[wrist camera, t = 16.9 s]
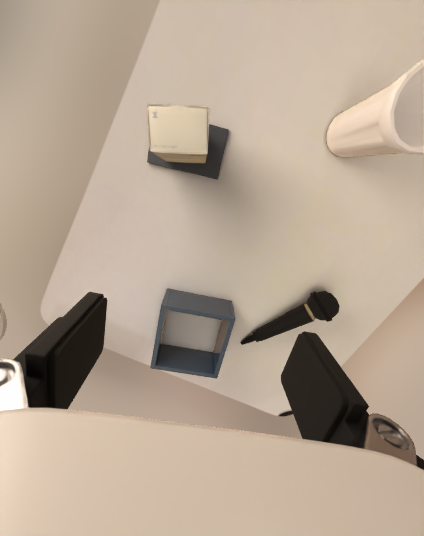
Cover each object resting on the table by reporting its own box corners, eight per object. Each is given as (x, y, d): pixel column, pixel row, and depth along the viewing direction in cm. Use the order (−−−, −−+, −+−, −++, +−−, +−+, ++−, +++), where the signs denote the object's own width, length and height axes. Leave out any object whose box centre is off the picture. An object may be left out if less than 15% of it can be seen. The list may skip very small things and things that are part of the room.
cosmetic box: (165, 161, 35) (146, 153, 24) (164, 128, 34) (144, 102, 22) (207, 163, 35) (208, 156, 24) (208, 130, 34) (209, 105, 23)
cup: (342, 175, 37) (419, 172, 24) (307, 139, 35) (370, 114, 22) (383, 129, 35) (493, 98, 22) (349, 89, 33) (446, 27, 20)
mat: (148, 162, 36) (147, 162, 35) (154, 110, 33) (153, 109, 33) (217, 179, 37) (217, 179, 36) (228, 130, 34) (228, 129, 34)
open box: (156, 346, 48) (150, 368, 42) (167, 288, 43) (161, 304, 38) (215, 356, 49) (217, 378, 44) (231, 300, 45) (235, 318, 39)
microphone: (245, 336, 51) (332, 295, 45) (251, 361, 47) (349, 319, 41) (232, 325, 48) (324, 279, 42) (237, 350, 44) (341, 303, 38)
